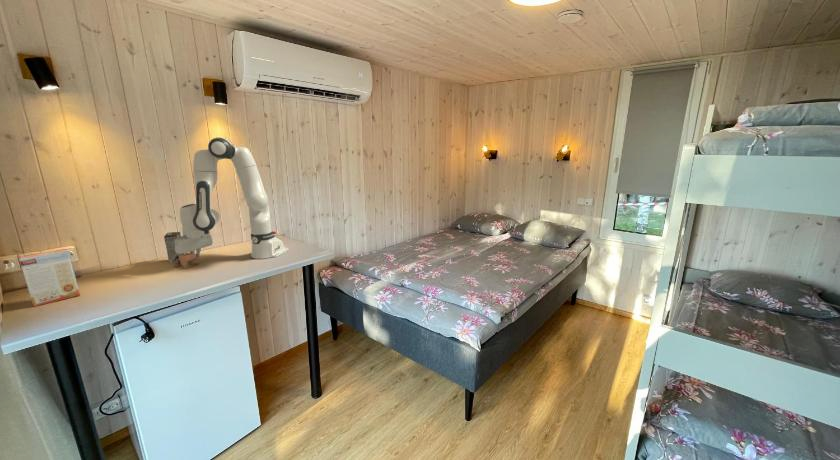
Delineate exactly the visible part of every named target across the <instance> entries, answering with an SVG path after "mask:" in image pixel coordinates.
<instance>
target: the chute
mask: <svg viewBox="0 0 840 460" xmlns="http://www.w3.org/2000/svg"><path fill="white" fill-rule="evenodd" d="M197 265H199V259H198V258H195V259H194V260H191V261H188V262H185V263H183V266H181V263H180V260H178V261H175V262H172V266H173V269H176V268H178V267H183V270H185V269H189V268H191V267H195V266H197Z"/></svg>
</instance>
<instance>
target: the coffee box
mask: <svg viewBox="0 0 840 460" xmlns="http://www.w3.org/2000/svg"><path fill="white" fill-rule="evenodd" d="M181 236H182V234H181V232H180V231H172V232H167V233H166V234H165V235H164V236H163V237H164V243H165V248H166V255H167V259H168V263H169V264H170V263H173V262H175V261H178V260H180V258H179V255H182V254H177V253H176V252H175V239H176V238H177V237H181Z"/></svg>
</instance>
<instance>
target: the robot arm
mask: <svg viewBox="0 0 840 460" xmlns="http://www.w3.org/2000/svg"><path fill="white" fill-rule="evenodd" d="M224 159H225V160H230V161H231V162H232V164H233V167H234V170H235V172H236V174H237V178H238V180H239V183H240V186H241V189H242V193H243V196H244V200H245V202H246V205H247V207H248V216H249V225H250V232H251V233H250V240H251V252H250V256H251V258H253V259H257V260H259V259H260V260H262V259H269V258H277V257H279V256H280V255H281V256H282V254H284V253H286V252H287V251H289V248H288V247H286V246H285V245H284V244H285V243H284V241H282V240H281V239H279V238H278V237H276V236H275V235H278V231H277V230H272V221H271V212H270V203H269V202H270V201H269V196H268V194H267V193H266V190H265V188H264V184H263V181H262V178H261V174H260V172H259V169H258V165H257V163H256V160H255V158H254V156H253V154H252V152H251V150H250V149H249V148H248V147H245V146H234V144H233V143H232V142H231V140H229V139H227V138H225V137H214V138H212V139H210V141H208V145H207V149H199V150H197V151H195V153H194V156H193V163H192V164H193V167H192V168H193V169H192V170H193V180H194V185H195V198H196V199H195V200H196V201H195V202H196V203H189V204H186V205H182V206H181V207H180V208H179V220H180V223H181V225H182V226H181V230H182V235H181V237H177V238H176V239H175V252H176V253H177V254H185V253H195V252H196V253H195V259H197V258H199V257H201V255H200V253H201V252H202V249H203V248H207V247H210V246H212V245H213V241H214V240H213V237H212V234H211V230H213V228H214V227H215V226H216V225H217V224H218V223H219V221H220V215H219V214H220V213H218V212H217V210H215V209H213V208H211V207H212V206H211V194H212V192H213V190H214V188H215V186H216V185H217V183H218V177H219V175H218V163H219V161H220V160H224Z"/></svg>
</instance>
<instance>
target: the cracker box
mask: <svg viewBox="0 0 840 460" xmlns="http://www.w3.org/2000/svg"><path fill="white" fill-rule="evenodd" d="M18 259H19V262H20V266H21V269H22V273H23V277H24V280H25V283H26V286H27V287H26V288H27V290H28V293H29V297H30V299H31V302H32V305H33V307H38V306H39V307H40V306H42V305H47V304H50V303H55V302H59V301H63V300H67V299H71V298H77V297H80V296H81V293H80V289H79V286H78V282H77V278H76V274H75V272H74V271H75V270H74V268H73V264H72V259H71V256H70V252H69V250H68V249H67V248H62V249H56V250H51V251H43V252H38V253H32V254H26V255H25V254H24V255H21V256H18Z"/></svg>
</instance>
